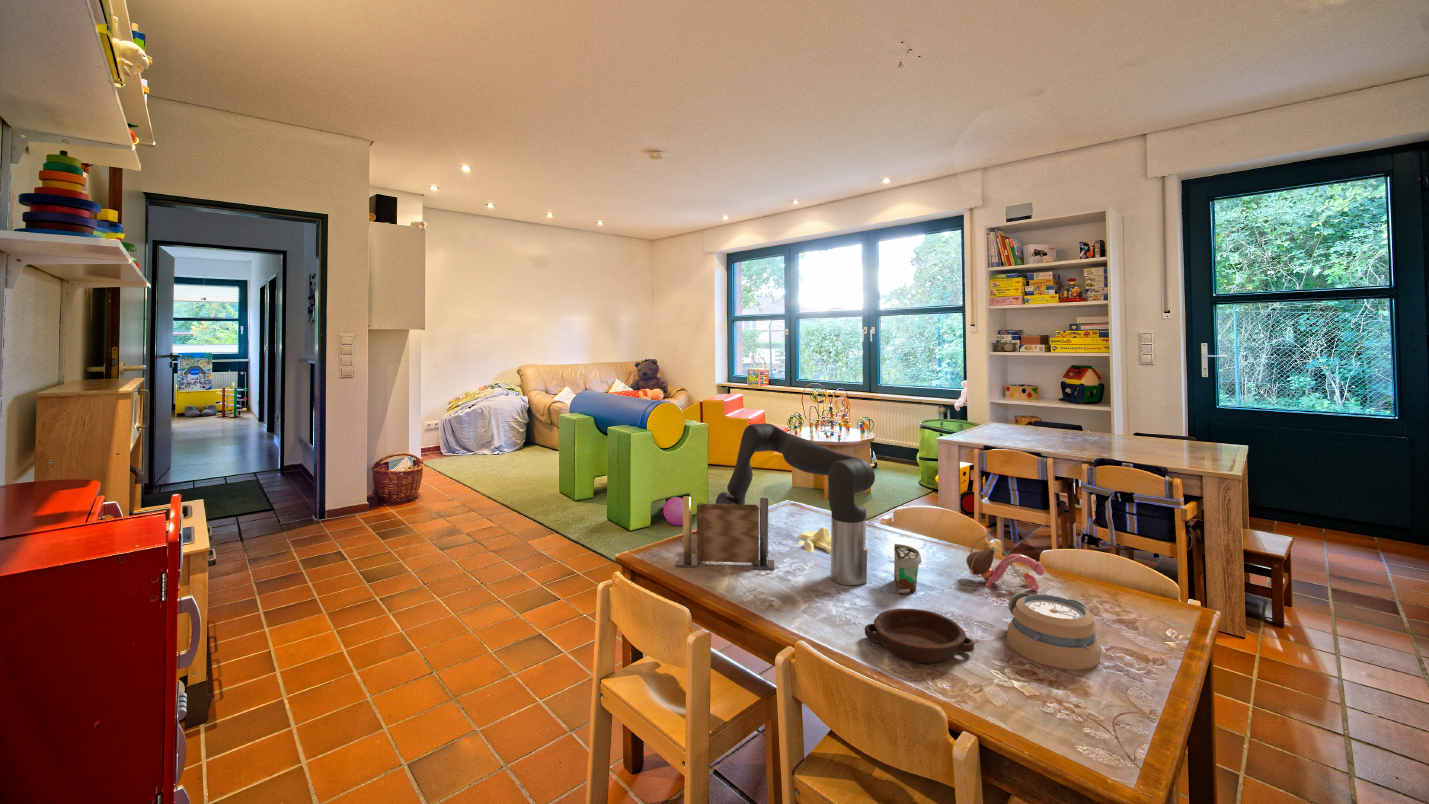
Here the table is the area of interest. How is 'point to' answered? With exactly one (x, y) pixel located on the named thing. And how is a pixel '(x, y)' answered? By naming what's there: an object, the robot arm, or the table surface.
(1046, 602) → the alarm clock
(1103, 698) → the table surface
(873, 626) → the dish
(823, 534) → the cloth
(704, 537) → the gate panel
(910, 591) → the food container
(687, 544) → the gate frame
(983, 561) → the anatomy model
